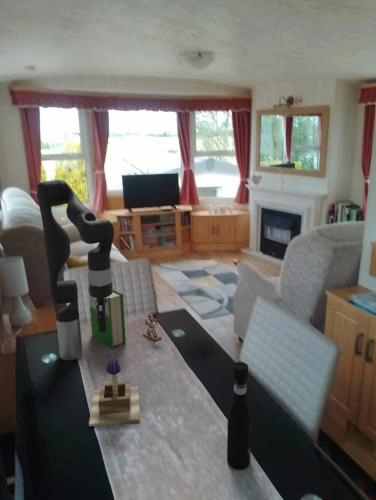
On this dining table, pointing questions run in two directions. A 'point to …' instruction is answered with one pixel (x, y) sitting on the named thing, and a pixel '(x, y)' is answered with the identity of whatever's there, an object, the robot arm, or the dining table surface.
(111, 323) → the hardback book
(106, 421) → the socket board
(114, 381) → the toy lamp
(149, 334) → the openwork figure ornament
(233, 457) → the wine bottle
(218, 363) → the dining table surface
